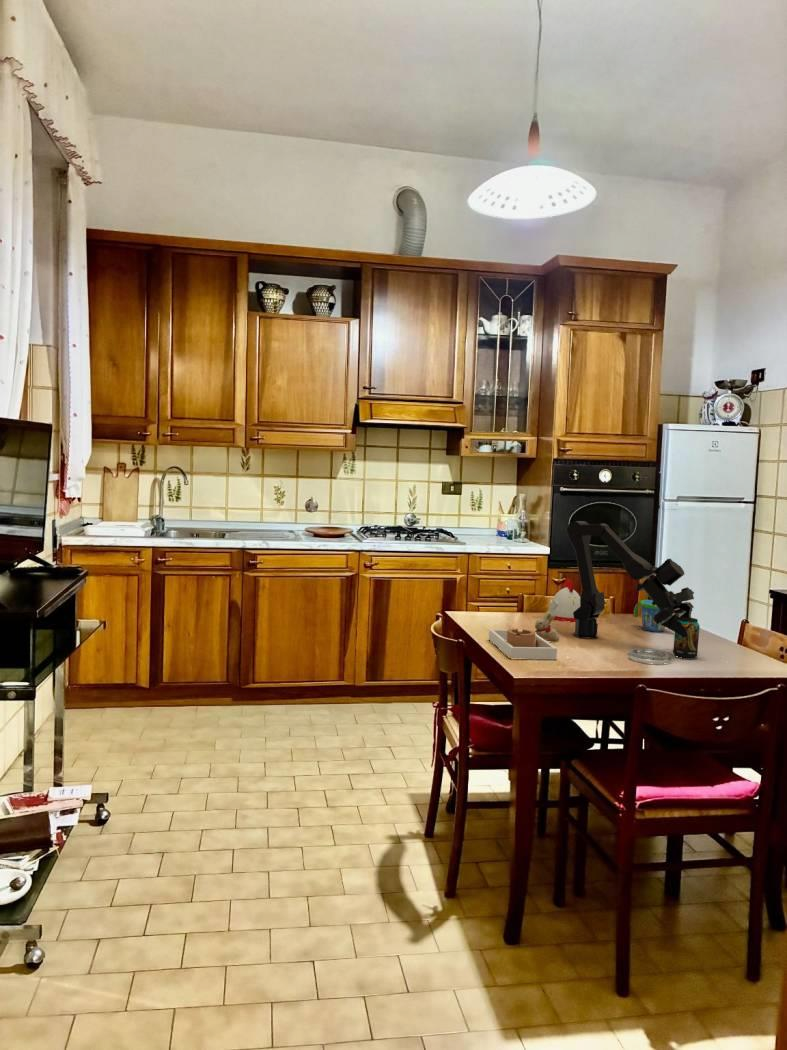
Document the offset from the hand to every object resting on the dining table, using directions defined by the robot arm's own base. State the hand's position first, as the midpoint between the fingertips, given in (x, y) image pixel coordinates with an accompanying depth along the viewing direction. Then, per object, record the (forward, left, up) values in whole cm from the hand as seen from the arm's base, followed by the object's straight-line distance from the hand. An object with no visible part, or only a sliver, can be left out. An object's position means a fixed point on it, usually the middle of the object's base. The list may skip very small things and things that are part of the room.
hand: (691, 635), depth 238 cm
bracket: (-52, +7, -7) cm, 53 cm away
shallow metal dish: (-15, -3, -7) cm, 17 cm away
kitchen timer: (-18, +57, -7) cm, 61 cm away
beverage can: (-1, +1, -7) cm, 7 cm away
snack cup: (+8, +39, -7) cm, 41 cm away
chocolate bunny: (-39, +20, -7) cm, 44 cm away
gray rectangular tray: (-52, +7, -7) cm, 53 cm away
